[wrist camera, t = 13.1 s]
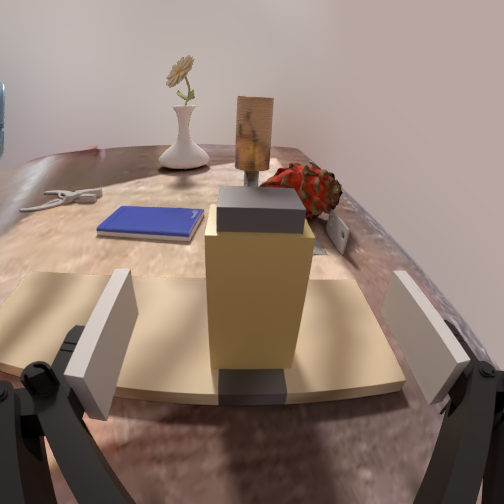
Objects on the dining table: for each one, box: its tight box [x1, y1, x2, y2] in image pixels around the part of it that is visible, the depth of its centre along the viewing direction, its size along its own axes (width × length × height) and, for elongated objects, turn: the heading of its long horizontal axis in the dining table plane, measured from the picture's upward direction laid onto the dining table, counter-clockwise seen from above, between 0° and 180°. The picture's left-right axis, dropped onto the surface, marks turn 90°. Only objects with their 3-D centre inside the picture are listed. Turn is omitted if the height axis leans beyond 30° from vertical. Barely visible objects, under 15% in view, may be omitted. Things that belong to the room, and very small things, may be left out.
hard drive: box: [97, 206, 204, 242], centre depth 39 cm, size 2×8×12 cm
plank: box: [0, 271, 406, 405], centre depth 22 cm, size 32×12×1 cm, turn 93°
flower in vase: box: [158, 55, 210, 169], centre depth 60 cm, size 13×11×25 cm
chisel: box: [235, 96, 274, 187], centre depth 23 cm, size 2×2×15 cm
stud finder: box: [205, 186, 315, 369], centre depth 18 cm, size 5×4×10 cm
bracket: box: [312, 209, 350, 255], centre depth 36 cm, size 7×10×4 cm, turn 94°
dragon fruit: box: [259, 162, 342, 220], centre depth 42 cm, size 8×8×12 cm
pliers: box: [20, 188, 102, 212], centre depth 47 cm, size 10×2×15 cm
